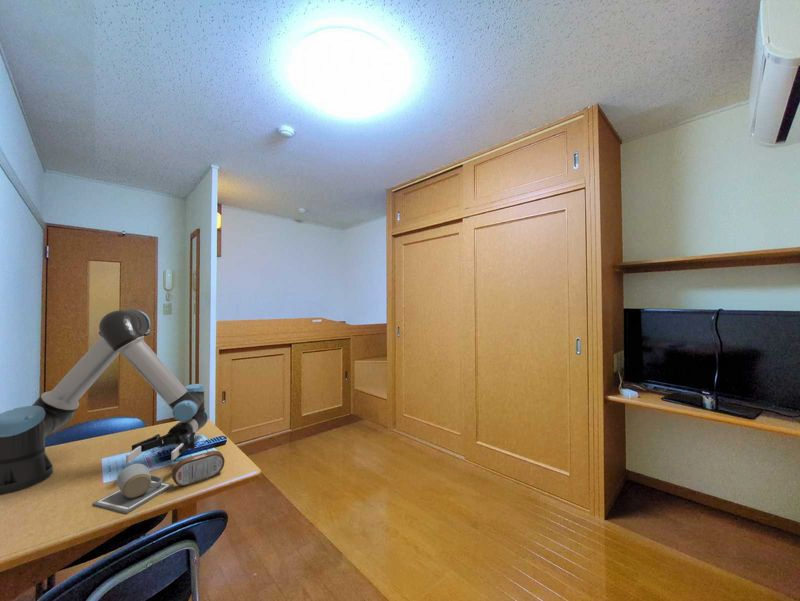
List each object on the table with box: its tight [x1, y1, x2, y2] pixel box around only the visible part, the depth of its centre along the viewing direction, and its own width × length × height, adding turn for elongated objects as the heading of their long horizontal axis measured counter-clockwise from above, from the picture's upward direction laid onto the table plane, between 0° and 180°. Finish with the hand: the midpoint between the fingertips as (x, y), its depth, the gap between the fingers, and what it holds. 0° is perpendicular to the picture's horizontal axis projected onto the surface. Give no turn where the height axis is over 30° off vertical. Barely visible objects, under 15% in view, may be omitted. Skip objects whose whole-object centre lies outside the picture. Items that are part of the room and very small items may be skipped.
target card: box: [91, 481, 175, 515], centre depth 100 cm, size 14×14×1 cm
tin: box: [171, 450, 225, 487], centre depth 108 cm, size 15×3×8 cm, turn 133°
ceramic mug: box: [116, 463, 164, 498], centre depth 101 cm, size 11×8×8 cm
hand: (150, 457), depth 107 cm, fingers open, 13 cm apart
